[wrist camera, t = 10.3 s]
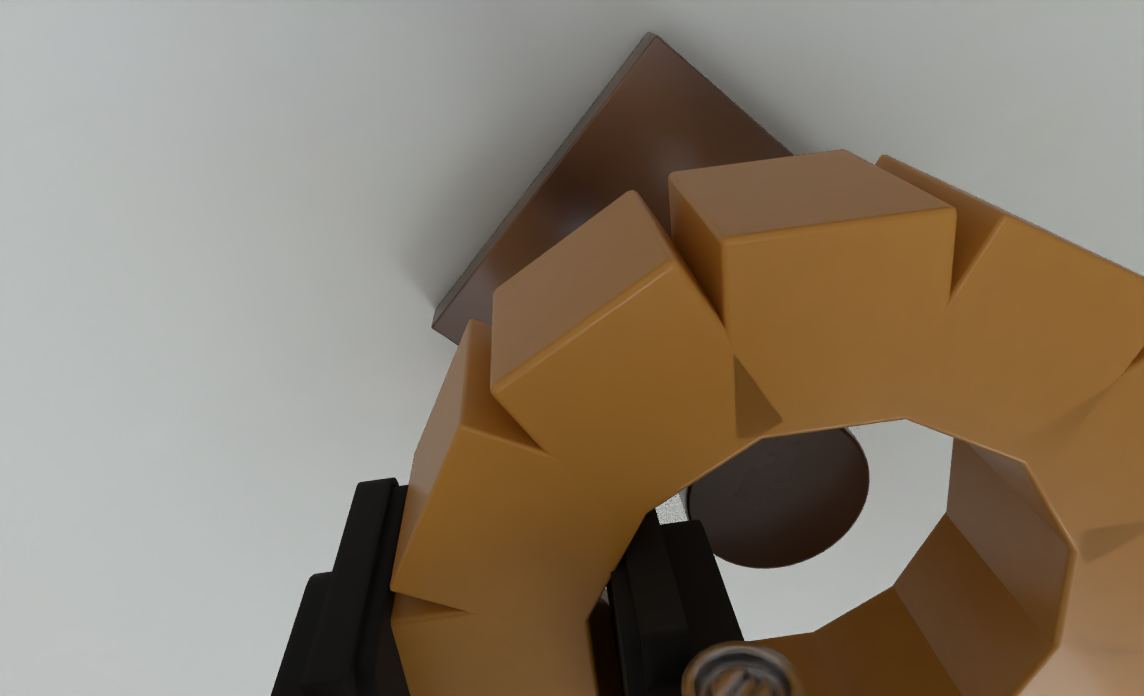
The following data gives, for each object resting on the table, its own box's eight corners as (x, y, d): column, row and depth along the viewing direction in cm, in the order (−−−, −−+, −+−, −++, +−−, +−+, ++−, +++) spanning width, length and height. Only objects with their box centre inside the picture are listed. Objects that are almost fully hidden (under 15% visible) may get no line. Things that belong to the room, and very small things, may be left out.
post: (648, 31, 20) (773, 81, 10) (896, 247, 22) (1169, 440, 13) (434, 310, 22) (381, 551, 13) (680, 474, 25) (782, 768, 16)
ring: (1157, 106, 11) (1374, 151, 8) (1050, 691, 15) (1166, 845, 13) (347, 213, 11) (294, 296, 8) (481, 775, 15) (476, 949, 13)
